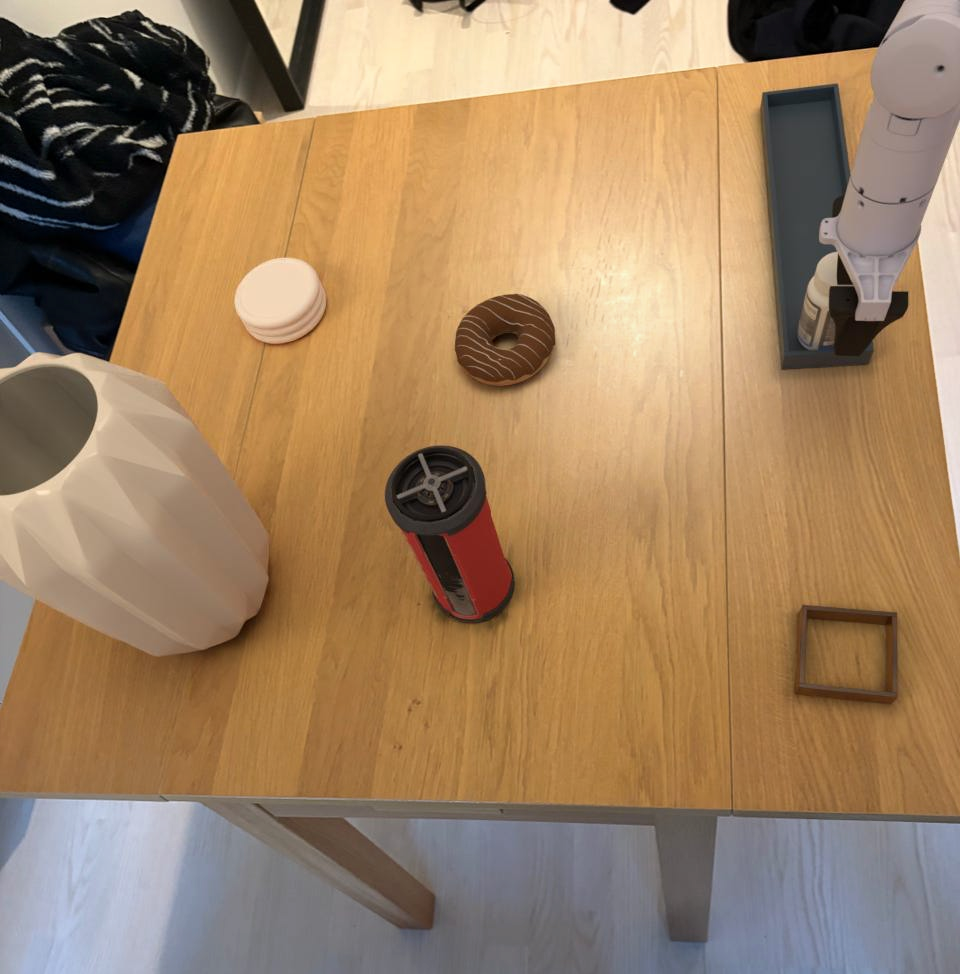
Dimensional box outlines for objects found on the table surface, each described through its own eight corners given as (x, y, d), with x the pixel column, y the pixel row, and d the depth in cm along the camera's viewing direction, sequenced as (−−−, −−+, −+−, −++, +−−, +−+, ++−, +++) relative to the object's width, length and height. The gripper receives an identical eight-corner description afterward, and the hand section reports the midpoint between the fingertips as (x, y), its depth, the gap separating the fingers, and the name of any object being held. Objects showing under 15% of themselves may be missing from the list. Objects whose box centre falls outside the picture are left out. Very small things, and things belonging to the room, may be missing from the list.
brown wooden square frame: (798, 613, 71) (802, 604, 69) (891, 621, 69) (897, 612, 67) (795, 694, 68) (798, 687, 66) (891, 704, 66) (897, 697, 65)
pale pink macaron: (304, 353, 92) (292, 330, 89) (231, 337, 95) (217, 315, 92) (342, 286, 95) (331, 261, 92) (269, 272, 98) (257, 248, 94)
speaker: (527, 605, 75) (497, 501, 59) (450, 637, 76) (399, 542, 59) (498, 538, 79) (462, 423, 62) (424, 569, 79) (368, 462, 62)
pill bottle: (853, 322, 80) (876, 253, 73) (839, 359, 79) (861, 292, 71) (804, 311, 82) (821, 243, 74) (789, 348, 80) (805, 282, 73)
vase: (154, 504, 87) (-39, 315, 62) (323, 515, 83) (189, 317, 58) (93, 675, 81) (-150, 540, 56) (274, 697, 76) (98, 561, 51)
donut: (531, 298, 89) (527, 270, 85) (574, 365, 85) (571, 338, 81) (443, 340, 89) (434, 313, 85) (480, 409, 85) (473, 383, 81)
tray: (759, 109, 94) (762, 92, 92) (834, 100, 92) (838, 82, 90) (781, 369, 80) (784, 355, 78) (868, 364, 79) (874, 350, 77)
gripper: (836, 105, 61) (802, 252, 73) (830, 253, 56) (795, 384, 68) (940, 101, 59) (887, 252, 72) (943, 252, 54) (886, 386, 67)
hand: (848, 316), depth 70 cm, fingers open, 7 cm apart
